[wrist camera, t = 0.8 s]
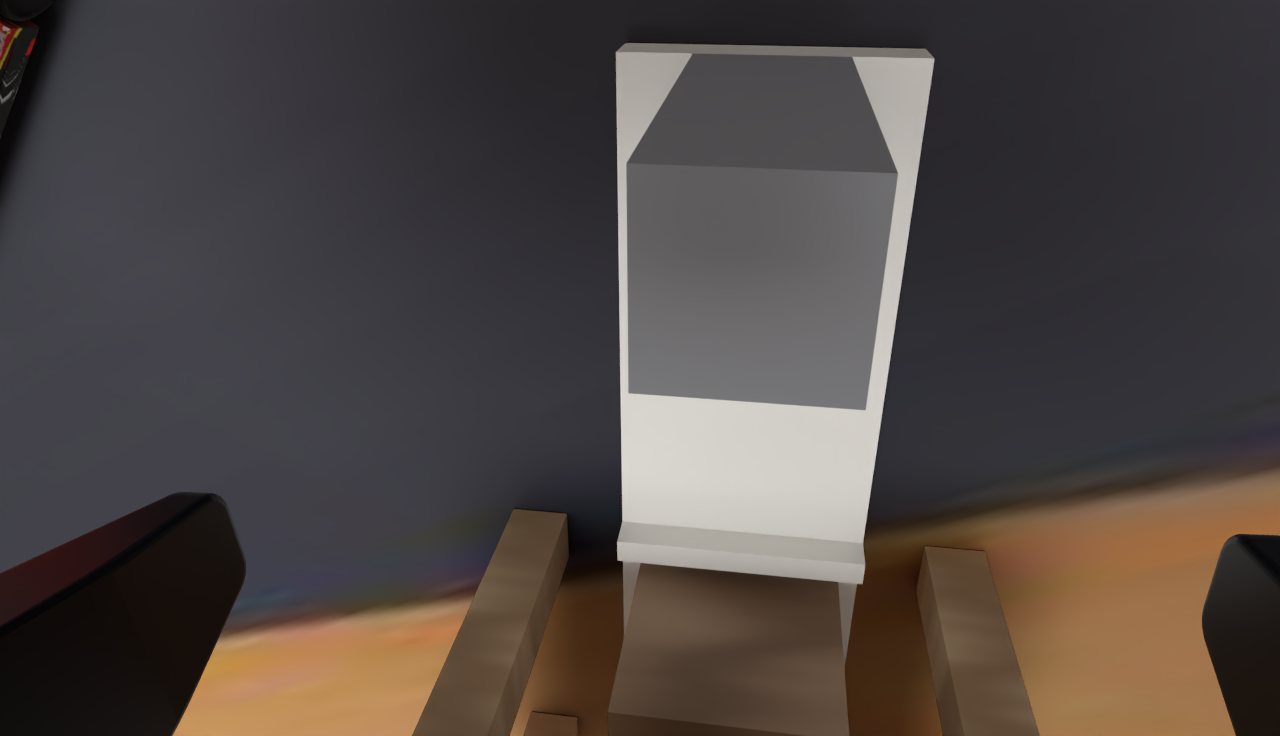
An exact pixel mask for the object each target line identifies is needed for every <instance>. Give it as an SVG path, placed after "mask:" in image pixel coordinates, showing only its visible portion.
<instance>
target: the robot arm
mask: <svg viewBox="0 0 1280 736" xmlns="http://www.w3.org/2000/svg"><path fill="white" fill-rule="evenodd" d="M245 574H246V560H245V556H244V553H243V550H242V547H241V544H240V541H239V538H238V535H237V532H236V529H235V527H234V524H233V521H232V518H231V515H230V512H229V509H228V506H227V504H226V502H225V501H224V500H223V499H222V498H221V497H220V496H218V495H216V494H213V493H196V492H179V493H174V494H172V495H169V496H167V497H165V498H163V499H160V500H158V501H156V502H154V503H152V504H150V505H147V506H145V507H143V508H141V509H139V510H137V511H134V512H132V513H130V514H128V515H126V516H124V517H121V518H119V519H117V520H115V521H113V522H111V523H108V524H106V525H104V526H102V527H100V528H98V529H95V530H93V531H91V532H89V533H87V534H85V535H82V536H80V537H78V538H76V539H74V540H72V541H69V542H67V543H65V544H63V545H61V546H59V547H56V548H54V549H52V550H50V551H48V552H46V553H43V554H41V555H39V556H37V557H35V558H32V559H30V560H28V561H26V562H24V563H22V564H19V565H17V566H15V567H13V568H11V569H9V570H6V571H4V572H2V573H0V736H172V735H173V734H174V732H175V730H176V728H177V726H178V724H179V722H180V720H181V718H182V716H183V714H184V712H185V710H186V708H187V706H188V704H189V702H190V700H191V698H192V695H193V693H194V691H195V689H196V687H197V685H198V682H199V680H200V678H201V676H202V674H203V671H204V669H205V667H206V665H207V663H208V660H209V658H210V656H211V654H212V652H213V649H214V647H215V645H216V643H217V641H218V638H219V636H220V634H221V632H222V630H223V628H224V625H225V623H226V621H227V619H228V617H229V614H230V612H231V610H232V608H233V606H234V603H235V601H236V599H237V597H238V595H239V592H240V590H241V588H242V585H243V583H244V579H245ZM1202 628H1203V634H1204V639H1205V642H1206V645H1207V649H1208V652H1209V655H1210V658H1211V661H1212V664H1213V667H1214V670H1215V673H1216V676H1217V679H1218V682H1219V685H1220V688H1221V692H1222V695H1223V698H1224V701H1225V704H1226V707H1227V710H1228V713H1229V716H1230V719H1231V722H1232V725H1233V728H1234V731H1235V735H1236V736H1280V536H1276V535H1250V534H1237V535H1235V536H1232V537H1230V538H1229V539H1228V540H1227V541H1226V542H1225V544H1224V546H1223V548H1222V550H1221V553H1220V556H1219V559H1218V562H1217V566H1216V569H1215V572H1214V575H1213V579H1212V582H1211V585H1210V588H1209V591H1208V595H1207V598H1206V601H1205V604H1204V608H1203V614H1202Z"/></svg>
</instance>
